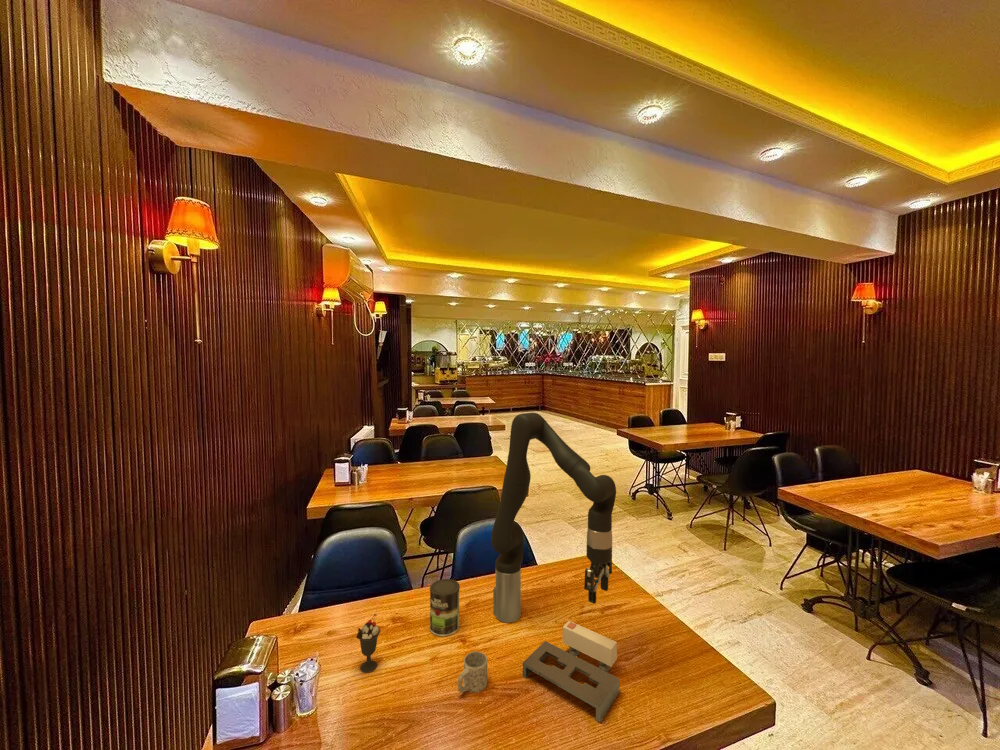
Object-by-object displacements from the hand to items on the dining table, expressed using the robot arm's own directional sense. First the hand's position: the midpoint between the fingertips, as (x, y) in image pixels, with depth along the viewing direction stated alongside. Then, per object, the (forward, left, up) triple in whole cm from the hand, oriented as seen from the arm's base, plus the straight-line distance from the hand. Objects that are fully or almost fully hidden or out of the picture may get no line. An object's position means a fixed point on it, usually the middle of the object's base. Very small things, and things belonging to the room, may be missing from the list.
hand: (598, 595), depth 118 cm
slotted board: (-3, -13, -20) cm, 24 cm away
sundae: (-53, -45, -21) cm, 72 cm away
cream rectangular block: (-3, -1, -20) cm, 21 cm away
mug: (-24, -31, -21) cm, 44 cm away
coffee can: (-49, -18, -21) cm, 56 cm away
